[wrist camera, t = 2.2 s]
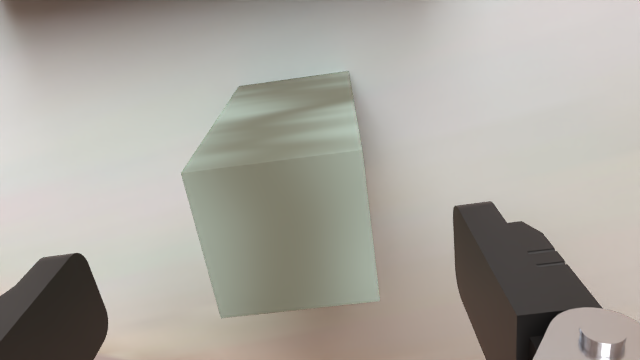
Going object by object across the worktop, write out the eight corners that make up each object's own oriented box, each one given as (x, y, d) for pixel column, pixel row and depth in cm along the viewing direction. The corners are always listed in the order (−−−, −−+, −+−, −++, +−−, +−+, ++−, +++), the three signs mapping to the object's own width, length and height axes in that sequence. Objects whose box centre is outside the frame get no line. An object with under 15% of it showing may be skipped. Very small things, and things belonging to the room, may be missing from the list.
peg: (348, 70, 18) (362, 149, 11) (360, 172, 20) (379, 301, 12) (239, 86, 18) (181, 173, 11) (259, 185, 20) (220, 318, 13)
